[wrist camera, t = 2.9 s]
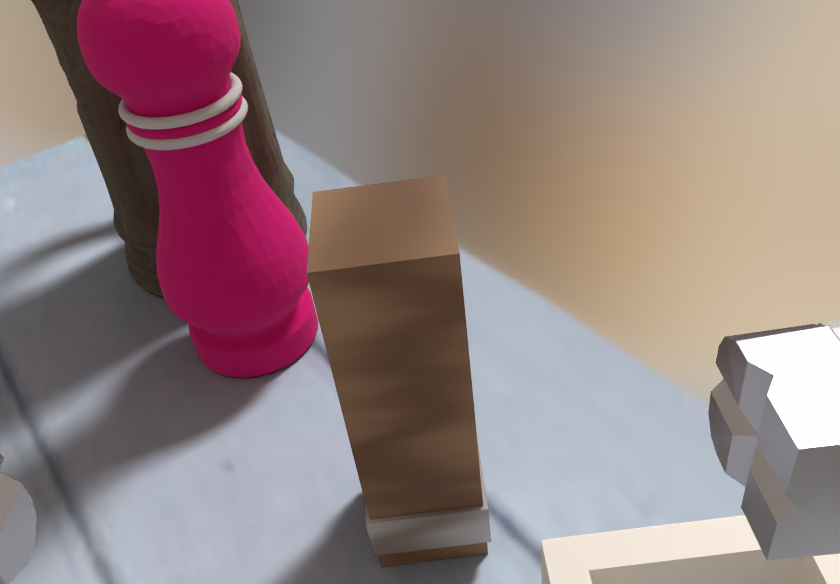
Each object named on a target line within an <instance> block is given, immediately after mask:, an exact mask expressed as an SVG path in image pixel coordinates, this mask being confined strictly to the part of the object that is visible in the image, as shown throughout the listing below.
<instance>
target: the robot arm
mask: <svg viewBox="0 0 840 584" xmlns="http://www.w3.org/2000/svg"><path fill="white" fill-rule="evenodd" d="M716 364H717V366H718V368H719V370H720V372H721V374H722V376H723V378H724V379H723V380H722V381H721V382H720V383H719V384H718V385H717V386H716V387H715V388H714V389H713V390H712V391H711V396H710V404H709V421H710V430H711V437H712V440H713V443H714V447H715V450H716V453H717V456H718V458H719V460H720V462H721V465H722V467H723V469H724V471H725V473H726V474H727V475H729V476H730V477H732V478H733V479H735V480H736V481H738V482H739V483H741V484H742V485H743V486H745V492H744V497H743V501H742V506H741V508H742V510H743V512H744V514H745V516H746V518H747V520H748V523H749V525H750V527H751V529H752V531H753V533H754V535H755V537H756V539H757V541H758V544H759V546H760V548H761V550H762V552H763V554H764V556H765V558H766V560H767V561H770V560H780V559H790V558H800V557H810V556H820V555H830V554H840V320H838V321H831V322H824V323H819V324H817V325H816V324H809V325H802V326H796V327H789V328H782V329H775V330H768V331H761V332H754V333H747V334H740V335H733V336H726V337H724V339H723V341H722V342H721V344H720V345H719V348H718V354H717V359H716ZM3 459H4V458H3V456H2V455H1V454H0V469H1V466H2V462H3ZM36 521H37V514H36V511H35V508H34V504H33V501H32V498H31V496H30V494H29V493H28V491H27V490H26V489H25V487H24V486H23V484H22V483H21V482H19V481H16V480H14V479H12V478H10V477H8V476H6V475H4V474H2V473H0V584H8V583H9V582H10V581H11V580H12V579H13V578H14V577H15V576H16V575H17V574H18V573H19V572H20V571H21V570H22V569H23V568H24V567H25V566H26V565H27V564H28V562H29V559H30V556H31V553H32V550H33V547H34V544H35V541H36Z"/></svg>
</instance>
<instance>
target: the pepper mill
mask: <svg viewBox="0 0 840 584" xmlns="http://www.w3.org/2000/svg"><path fill="white" fill-rule="evenodd" d="M77 38H78V42H79V46H80V49H81V53H82V56H83V59H84V61H85V63H86V65H87V67H88V69H89V71H90V73H91V74H92V75H93V77H94V78H95V79H96V80H97V81H98V82H99V83H100V84H101V85H102V86H103V87H105V88H106V89H108V90H109V91H111V92H113V93H115V94H117V95H118V96H119V97H121V98H122V100H121V102H120V104H119V110H118V112H119V115H120V117H121V118H122V119H123V120H124V121H125V122H126V125H127V127H126V132H127V136H128V137H129V139H130V140H131V141H132V142H134V143H135V144H136V145H138V146H141V147H143V148H144V150H145V152H146V154H147V156H148V159H149V161H150V163H151V165H152V168H153V172H154V176H155V180H156V183H157V187H158V195H159V207H160V213H159V228H158V238H157V248H156V263H157V275H158V280H159V284H160V287H161V290H162V294H163V297H164V299H165V301H166V304H167V305H168V307H169V309H170V310H171V311H172V312H173V313H174V314H175V315H176V316H177V317H178V318H180V319H181V320H182V321H184V322H186V323H188V324H189V332H190V335H191V337H192V340H193V342H194V345H195V347H196V350H197V352H198V355H199V357H200V359H201V361H202V362H203V363H204V364H205V365H206V366H207V367H208V368H209V369H211V370H212V371H214V372H217V373H219V374H222V375H224V376H230V377H238V378H245V377H254V376H262V375H265V374H268V373H271V372H274V371H277V370H279V369H281V368H283V367H285V366H287V365H289V364H291V363H293V362H294V361H295V360H296V359H297V358H299V357H300V356H301V355H302V354H303V353H304V352H305V351H306V350H307V349H308V348H309V346H310V345H311V344H312V342H313V340H314V338H315V336H316V333H317V329H318V319H317V315H316V312H315V308H314V304H313V300H312V297H311V293H310V291H309V290H308V288H307V286H308V283H309V280H308V276H307V264H308V251H309V246H308V243H307V240H306V237H305V235H304V233H303V231H302V229H301V228H300V226H299V224H298V223H297V221H296V219H295V217H294V216H293V214H292V213H291V212H290V211H289V209H288V208H287V207H286V206H285V205H284V204H283V202H282V201H281V200H280V199H279V198H278V197H277V195H276V194H275V193H274V192H273V191H272V189H271V188H270V187H269V185H268V184H267V183H266V181H265V180H264V179H263V177H262V176H261V174H260V172H259V170H258V169H257V167H256V165H255V164H254V162H253V159H252V157H251V154H250V152H249V149H248V147H247V144H246V141H245V136H244V131H243V126H242V121H243V119H244V118H245V116H246V114H247V111H248V105H247V101H246V100H245V98H244V97H243V96H242V93H241V92H242V83H241V81H240V79H239V78H238V77H237V76H236V75H235V74H233V73H231V69H232V67H233V65H234V63H235V61H236V59H237V56H238V53H239V49H240V46H241V33H240V29H239V25H238V20H237V17H236V13H235V11H234V8H233V6H232V4H231V2H230V0H82V3H81V5H80V7H79V11H78V17H77Z"/></svg>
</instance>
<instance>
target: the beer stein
mask: <svg viewBox="0 0 840 584" xmlns="http://www.w3.org/2000/svg"><path fill="white" fill-rule="evenodd" d="M31 1H32V2H33V4H34V5H35V7H36V9H37V11H38V13H39V15H40V17H41V19H42V21H43V24H44V26H45V28H46V31H47V33H48V35H49V38H50V40H51V41H52V44H53V46H54V48H55V50H56V53H57V57H58V60H59V63H60V65H61V67H62V69H63V71H64V72H65V74H66V76H67V79H68V82H69V85H70V87H71V89H72V91H73V93H74V95H75V98H76V100H77V110H78V114H79V116H80V119H81V122H82V124H83V127H84V129H85V132H86V134H87V137H88V140H89V142H90V145H91V147H92V150H93V152H94V155H95V157H96V160H97V162H98V165H99V167H100V170H101V173H102V175H103V178H104V180H105V183H106V186H107V189H108V192H109V195H110V198H111V201H112V204H113V207H114V224H115V228H116V230H117V232H118V234H119V236H120V237H121V238H122V239H123V240H124V241H125V252H126V259H127V263H128V267H129V270H130V273H131V275H132V277H133V278H134V279H135V281H136V282H137V283H138V284H139V285H140V286H142V287H143V288H144V289H146V290H147V291H149V292H152V293H154V294H157V295H159V296H163V294H162V290H161V287H160V284H159V280H158V275H157V263H156V248H157V238H158V228H159V213H160V207H159V195H158V187H157V183H156V180H155V176H154V172H153V168H152V165H151V163H150V161H149V159H148V156H147V154H146V152H145V150H144V148H143V147H141V146H138V145H136V144H135V143H134V142H132V141H131V140H130V139H129V137H128V136H127V132H126V127H127V125H126V122H125V121H124V120H123V119H122V118H121V117H120V115H119V112H118V110H119V104H120V102H121V100H122V98H121V97H119V96H118V95H117V94H115V93H113V92H111V91H109V90H108V89H106V88H105V87H103V86H102V85H101V84H100V83H99V82H98V81H97V80H96V79H95V78H94V77H93V75H92V74H91V73H90V71H89V69H88V67H87V65H86V63H85V61H84V59H83V56H82V53H81V49H80V46H79V42H78V38H77V17H78V11H79V7H80V5H81V3H82V0H31ZM230 2H231V4H232V6H233V8H234V11H235V13H236V17H237V20H238V25H239V29H240V33H241V46H240V49H239V53H238V56H237V59H236V61H235V63H234V65H233V67H232V69H231V73H233V74H235V75H236V76H237V77H238V78H239V79H240V81H241V83H242V92H241V93H242V96H243V97H244V98H245V100H246V101H247V105H248V111H247V114H246V116H245V118H244V119H243V121H242V126H243V131H244V136H245V141H246V144H247V147H248V149H249V152H250V154H251V157H252V159H253V162H254V164H255V165H256V167H257V169H258V170H259V172H260V174H261V176H262V177H263V179H264V180H265V181H266V183H267V184H268V185H269V187H270V188H271V189H272V191H273V192H274V193H275V194H276V195H277V197H278V198H279V199H280V200H281V201H282V202H283V204H284V205H285V206H286V207H287V208H288V209H289V211H290V212H291V213H292V214H293V216H294V217H295V219H296V221H297V223H298V224H299V226H300V228H301V229H302V231H303V233H304V235H305V236H306V232H307V222H306V216H305V214H304V212H303V209H302V207H301V205H300V203H299V201H298V200H297V198H296V197H295V195H294V178H293V175H292V173H291V172H290V170H289V169H288V167H287V166H286V164H285V163H284V161H283V157H282V154H281V150H280V147H279V144H278V140H277V137H276V133H275V130H274V126H273V123H272V119H271V116H270V113H269V109H268V106H267V102H266V99H265V96H264V92H263V89H262V85H261V82H260V79H259V75H258V72H257V68H256V65H255V62H254V58H253V55H252V51H251V47H250V44H249V41H248V37H247V33H246V29H245V26H244V22H243V18H242V15H241V11H240V8H239V4H238V0H230Z"/></svg>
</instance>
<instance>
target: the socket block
mask: <svg viewBox="0 0 840 584" xmlns="http://www.w3.org/2000/svg"><path fill="white" fill-rule="evenodd" d="M541 573H542V584H840V554H830V555H820V556H810V557H800V558H790V559H780V560H770V561H767V560H766V558H765V556H764V554H763V552H762V550H761V548H760V546H759V544H758V541H757V539H756V537H755V535H754V533H753V531H752V529H751V527H750V525H749V523H748V520H747V518H746V516H745V515H742V516H733V517H725V518H717V519H709V520H700V521H692V522H684V523H676V524H668V525H659V526H651V527H643V528H635V529H626V530H618V531H610V532H602V533H593V534H585V535H577V536H569V537H560V538H552V539H544V540H541Z"/></svg>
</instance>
